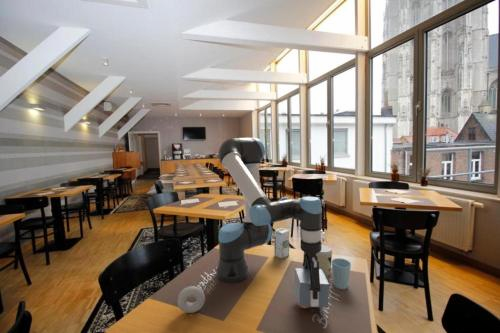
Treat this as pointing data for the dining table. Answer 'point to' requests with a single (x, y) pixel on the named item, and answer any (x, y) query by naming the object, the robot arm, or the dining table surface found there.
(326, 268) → the coffee cup
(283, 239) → the syrup box
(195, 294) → the grey ring
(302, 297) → the slate blue cube
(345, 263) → the cup
